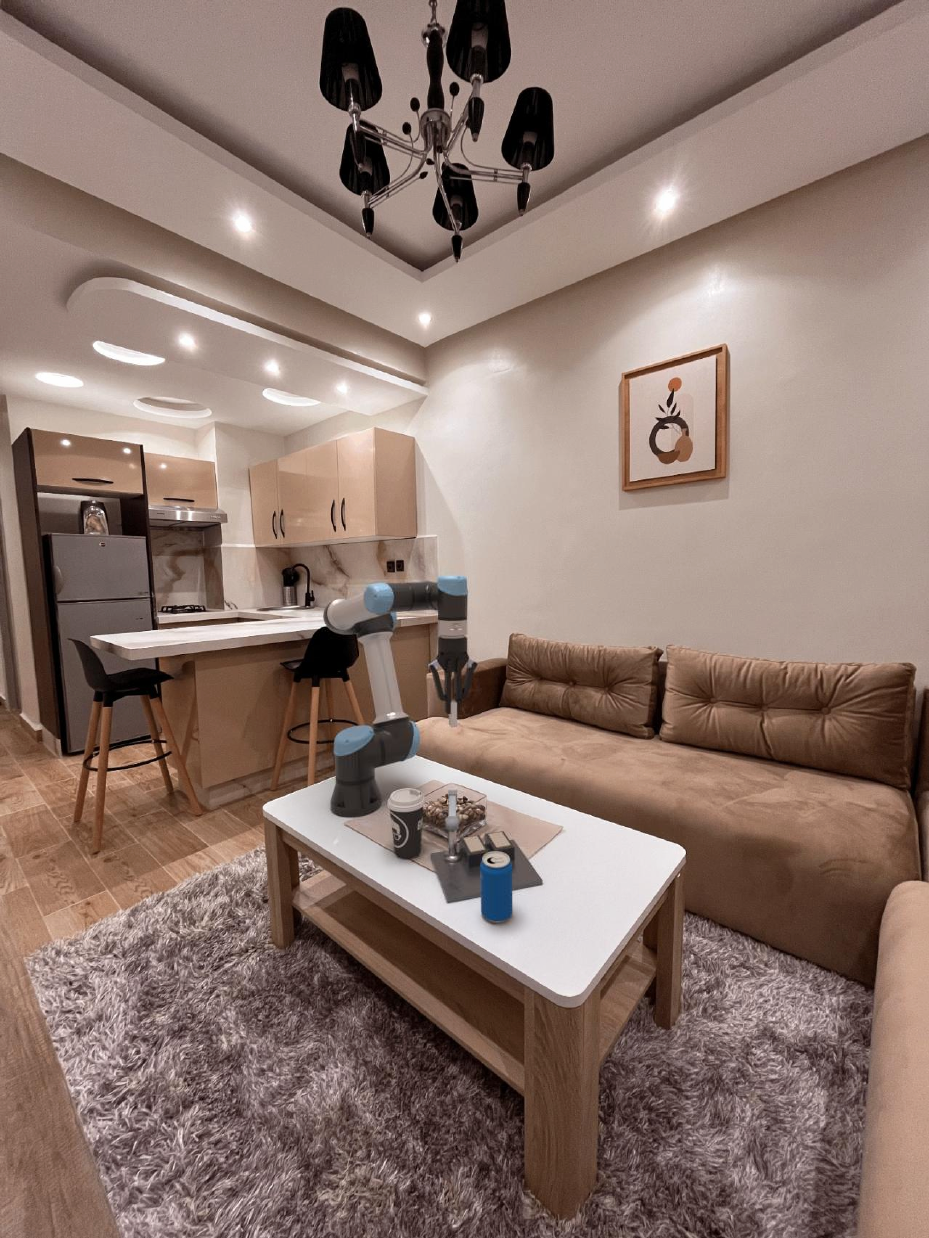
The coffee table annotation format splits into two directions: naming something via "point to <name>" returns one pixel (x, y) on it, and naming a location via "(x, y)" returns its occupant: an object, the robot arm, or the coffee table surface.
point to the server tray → (478, 865)
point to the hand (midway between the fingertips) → (452, 725)
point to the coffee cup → (406, 821)
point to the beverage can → (496, 886)
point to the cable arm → (452, 811)
